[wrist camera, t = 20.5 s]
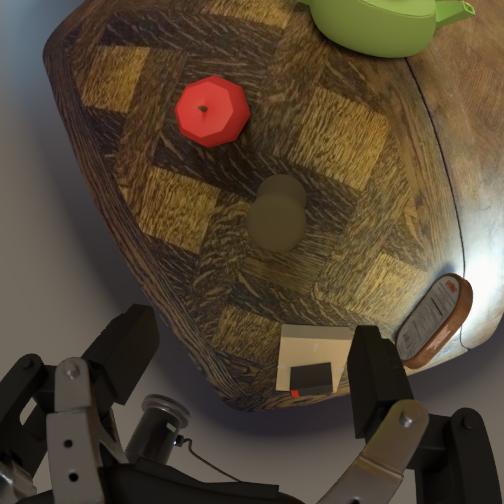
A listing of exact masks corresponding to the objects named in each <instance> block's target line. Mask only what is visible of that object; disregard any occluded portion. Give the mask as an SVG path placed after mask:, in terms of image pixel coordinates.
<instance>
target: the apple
mask: <svg viewBox="0 0 504 504" xmlns="http://www.w3.org/2000/svg"><path fill="white" fill-rule="evenodd" d="M174 111H175V114H176V118H177V122H178V125H179V129H180V132H181V134H182V135H184V136H186V137H188V138H190V139H192V140H194V141H196V142H197V143H199V144H201V145H203V146H205V147H207V148H211V147H214V146H217V145H221V144H224V143H227V142H231V141H234V140H236V139H237V137H238V136H239V134H240V132H241V130H242V129H243V127H244V125H245V124H246V122H247V120H248V119H249V117H250V115H251V114H250V110H249V107H248V103H247V100H246V97H245V93H244V90H243V88H242V87H240V86H238V85H236V84H234V83H232V82H229V81H227V80H225V79H223V78H221V77H218V76H211V77H208V78H205V79H202V80H200V81H197V82H194V83H192V84H189V85H187V86H186V88H185V90H184V91H183V93H182V95H181V97H180V99H179V101H178V103H177V104H176V106H175V108H174Z"/></svg>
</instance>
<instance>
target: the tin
mask: <svg viewBox="0 0 504 504" xmlns="http://www.w3.org/2000/svg"><path fill="white" fill-rule="evenodd" d="M472 302H473V290H472V287H471V285H470V283H469V282H468V281H467V280H465V279H463V278H462V277H460V276H459V275H457V274H454V273H447V274H445V275H443V276H441V277H440V278H439V279H437V280H436V281H435V282H434V284H433V285H432V286H431V288H430V289H429V290H428V292H427V293H426V294H425V296H424V297H423V299H422V300H421V301H420V302H419V304H418V305H417V306H416V308H415V309H414V310H413V312H412V313H411V314H410V315H409V317H408V318H407V319H406V320H405V321H404V323H403V324H402V326H401V328H400V329H399V331H398V334H397V336H396V339H395V344H394V345H395V346H396V347H397V349H398V352H399V355H400V360H401V361H402V364H403V365H405V366H407V367H408V368H410V369H419V368H421V367H423V366H425V365H426V364H427V363H428V362H429V361H430V360H431V359H432V358H433V357H434V356H435V355H436V354H437V353H438V352H439V351H440V350H441V348H442V347H443V346H444V345H445V344H446V343H447V342H448V341H449V340H450V338H451V337H452V336H453V335H454V334H455V333H456V331H457V330H458V329H459V328H460V327H461V325H462V324H463V323H464V322H465V320H466V318H467V317H468V315H469V312H470V310H471V307H472Z"/></svg>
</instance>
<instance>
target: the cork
mask: <svg viewBox="0 0 504 504" xmlns="http://www.w3.org/2000/svg"><path fill="white" fill-rule="evenodd" d="M306 203H307V196H306V191H305V189H304V187H303V185H302V184H301V183H300V182H299V181H298V180H297V179H296V178H294V177H292V176H290V175H285V174H277V175H272V176H270V177H268V178H266V179H265V180H264V181H263V182H262V183H261V184H260V186H259V188H258V190H257V194H256V201H255V202H254V203H253V204H252V205H251V207H250V209H249V211H248V213H247V218H246V226H247V230H248V234H249V236H250V237H251V239H252V241H253V242H254V243H255V244H256V245H257V246H258V247H260V248H262V249H264V250H266V251H269V252H275V253H277V252H285V251H287V250H290V249H292V248H293V247H295V246H296V245H297V244H298V243H299V242H300V241H301V239H302V238H303V236H304V234H305V231H306V226H307V221H306V214H305V211H304V210H305V208H306Z"/></svg>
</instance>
